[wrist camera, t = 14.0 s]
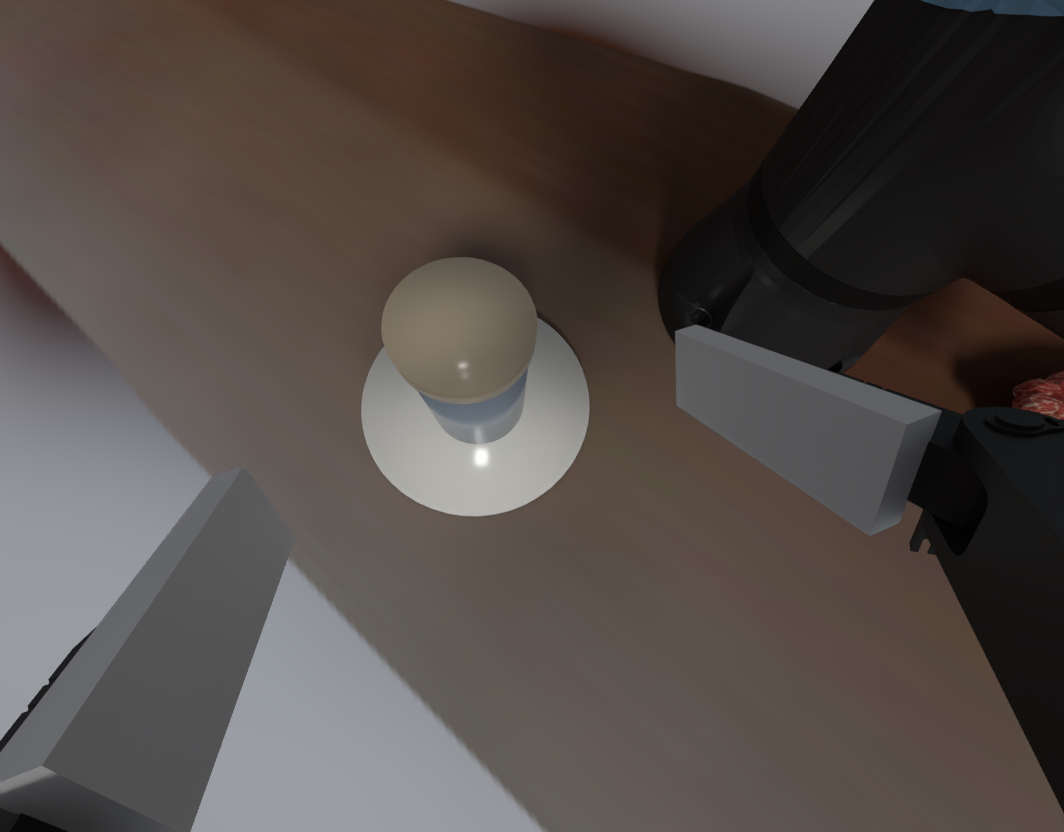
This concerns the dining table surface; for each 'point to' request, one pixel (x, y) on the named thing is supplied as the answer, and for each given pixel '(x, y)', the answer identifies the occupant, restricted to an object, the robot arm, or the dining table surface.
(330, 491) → the dining table surface
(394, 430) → the plate
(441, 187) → the dining table surface
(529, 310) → the jar
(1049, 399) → the dish
